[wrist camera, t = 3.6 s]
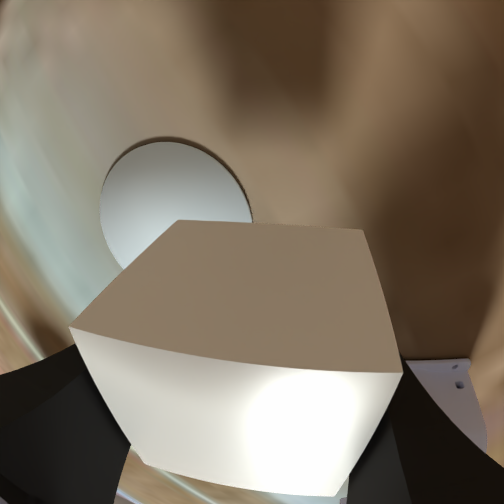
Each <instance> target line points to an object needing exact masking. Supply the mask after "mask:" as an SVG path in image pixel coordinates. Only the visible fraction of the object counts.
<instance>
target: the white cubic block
mask: <svg viewBox="0 0 504 504" xmlns="http://www.w3.org/2000/svg"><path fill="white" fill-rule="evenodd" d="M69 329H70V331H71V334H72V336H73V338H74V341H75V343H76V345H77V347H78V349H79V352H80V354H81V356H82V358H83V360H84V362H85V364H86V366H87V368H88V370H89V372H90V374H91V376H92V378H93V380H94V382H95V384H96V386H97V388H98V390H99V391H100V393H101V395H102V397H103V399H104V401H105V402H106V404H107V406H108V408H109V409H110V411H111V413H112V414H113V416H114V418H115V419H116V421H117V423H118V424H119V426H120V428H121V429H122V431H123V432H124V434H125V435H126V437H127V439H128V440H129V442H130V443H131V445H132V446H133V448H134V449H135V451H136V452H137V453H138V455H139V456H140V458H141V459H142V461H143V462H144V463H145V464H147V465H150V466H153V467H156V468H159V469H162V470H166V471H169V472H173V473H176V474H180V475H183V476H187V477H191V478H195V479H199V480H203V481H208V482H212V483H217V484H222V485H227V486H232V487H238V488H244V489H250V490H257V491H265V492H273V493H282V494H294V495H309V496H335V495H336V493H337V492H338V490H339V489H340V487H341V486H342V484H343V483H344V481H345V480H346V478H347V477H348V475H349V474H350V472H351V471H352V469H353V467H354V466H355V464H356V463H357V461H358V459H359V458H360V456H361V454H362V453H363V451H364V449H365V448H366V446H367V444H368V442H369V441H370V439H371V437H372V435H373V433H374V432H375V430H376V428H377V426H378V424H379V422H380V420H381V418H382V417H383V415H384V413H385V411H386V409H387V407H388V405H389V403H390V401H391V398H392V396H393V394H394V392H395V390H396V388H397V386H398V383H399V381H400V379H401V377H402V375H403V369H402V364H401V360H400V356H399V351H398V347H397V343H396V339H395V335H394V331H393V327H392V323H391V319H390V316H389V312H388V308H387V305H386V301H385V298H384V294H383V291H382V287H381V284H380V281H379V278H378V274H377V271H376V268H375V265H374V262H373V259H372V256H371V253H370V250H369V247H368V244H367V241H366V238H365V235H364V232H363V230H360V229H346V228H332V227H317V226H301V225H285V224H267V223H247V222H226V221H202V220H177V221H176V222H175V223H173V224H172V225H171V226H170V227H169V228H168V229H167V230H166V231H165V232H164V233H162V234H161V235H160V236H159V237H158V238H157V239H156V240H155V241H154V242H153V243H152V244H151V245H149V246H148V247H147V248H146V249H145V250H144V251H143V252H142V253H141V254H140V255H139V256H138V257H137V258H136V259H135V260H134V261H133V262H132V263H131V264H129V265H128V266H127V267H126V268H125V269H124V270H123V271H122V272H121V273H120V274H119V275H118V276H117V277H116V278H115V279H114V280H113V281H112V282H111V283H110V284H109V285H108V286H107V287H106V288H105V289H104V290H103V291H102V292H101V293H100V294H99V295H98V296H97V297H96V298H95V299H94V300H93V301H92V302H91V303H90V304H89V306H88V307H87V308H86V309H85V310H84V311H83V312H82V313H81V314H80V315H79V316H78V317H77V318H76V319H75V320H74V321H73V322H72V323H71V324H70V326H69Z"/></svg>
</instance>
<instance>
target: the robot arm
mask: <svg viewBox="0 0 504 504" xmlns="http://www.w3.org/2000/svg"><path fill="white" fill-rule="evenodd" d="M399 356H400V360H401V364H402V369H403V375H402V377H401V379H400V381H399V383H398V386H397V388H396V390H395V392H394V394H393V396H392V398H391V401H390V403H389V405H388V407H387V409H386V411H385V413H384V415H383V417H382V418H381V420H380V422H379V424H378V426H377V428H376V430H375V432H374V433H373V435H372V437H371V439H370V441H369V442H368V444H367V446H366V448H365V449H364V451H363V453H362V454H361V456H360V458H359V459H358V461H357V463H356V464H355V466H354V467H353V469H352V471H351V472H350V474H349V484H348V494H347V497H345V498H341V499H340V504H504V468H503V467H502V466H501V465H499V464H498V463H497V462H496V461H494V460H493V459H492V458H490V457H489V456H488V455H487V454H486V449H487V430H486V425H485V422H484V418H483V415H482V412H481V409H480V406H479V402H478V399H477V396H476V393H475V391H474V388H473V385H472V382H471V379H470V377H469V374H468V369H469V367H470V365H471V362H470V359H450V360H424V361H405V360H404V358H403V357H402V355H401V354H400V352H399ZM130 446H131V443H130V442H129V440H128V439H127V437H126V435H125V434H124V432H123V431H122V429H121V428H120V426H119V424H118V423H117V421H116V419H115V418H114V416H113V414H112V413H111V411H110V409H109V408H108V406H107V404H106V402H105V401H104V399H103V397H102V395H101V393H100V391H99V390H98V388H97V386H96V384H95V382H94V380H93V378H92V376H91V374H90V372H89V370H88V368H87V366H86V364H85V362H84V360H83V358H82V356H81V354H80V352H79V349H78V347H77V345H76V343H75V344H73V345H72V346H70V347H68V348H66V349H64V350H62V351H60V352H58V353H56V354H54V355H52V356H50V357H48V358H46V359H43V360H41V361H39V362H36V363H34V364H31V365H28V366H26V367H23V368H20V369H18V370H15V371H12V372H8V373H5V374H2V375H0V504H113V503H114V499H115V495H116V491H117V487H118V483H119V480H120V476H121V473H122V470H123V466H124V463H125V460H126V457H127V454H128V451H129V449H130Z"/></svg>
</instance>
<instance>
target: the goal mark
mask: <svg viewBox="0 0 504 504" xmlns="http://www.w3.org/2000/svg"><path fill="white" fill-rule="evenodd" d="M100 220H101V226H102V230H103V234H104V237H105V240H106V242H107V245H108V247H109V249H110V250H111V252H112V254H113V256H114V257H115V259H116V260H117V262H118V263H119V264H120V265H121V267H122V268H123V269H125V268H126V267H127V266H128V265H129V264H131V263H132V262H133V261H134V260H135V259H136V258H137V257H138V256H139V255H140V254H141V253H142V252H143V251H144V250H145V249H146V248H147V247H148V246H149V245H151V244H152V243H153V242H154V241H155V240H156V239H157V238H158V237H159V236H160V235H161V234H162V233H164V232H165V231H166V230H167V229H168V228H169V227H170V226H171V225H172V224H173V223H175V222H176V221H177V220H202V221H226V222H247V223H253V222H252V216H251V212H250V208H249V205H248V202H247V200H246V197H245V195H244V193H243V191H242V189H241V188H240V186H239V184H238V183H237V181H236V180H235V179H234V177H233V176H232V175H231V173H230V172H229V171H228V170H227V169H226V168H225V167H224V166H223V165H222V164H221V163H219V162H218V161H217V160H216V159H214V158H213V157H211V156H210V155H208V154H207V153H205V152H203V151H201V150H199V149H197V148H195V147H192V146H189V145H185V144H182V143H175V142H156V143H151V144H147V145H144V146H141V147H138V148H136V149H134V150H132V151H130V152H129V153H127V154H126V155H125V156H123V157H122V158H121V159H120V160H119V161H118V162H117V163H116V164H115V165H114V167H113V168H112V170H111V171H110V172H109V174H108V176H107V178H106V180H105V183H104V186H103V188H102V193H101V198H100Z"/></svg>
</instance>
